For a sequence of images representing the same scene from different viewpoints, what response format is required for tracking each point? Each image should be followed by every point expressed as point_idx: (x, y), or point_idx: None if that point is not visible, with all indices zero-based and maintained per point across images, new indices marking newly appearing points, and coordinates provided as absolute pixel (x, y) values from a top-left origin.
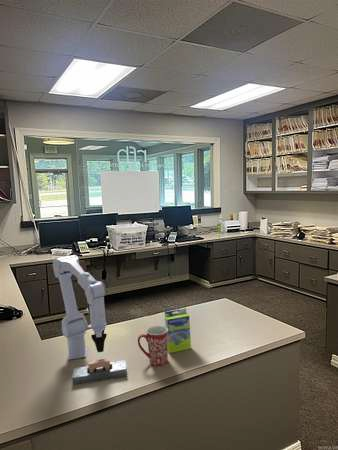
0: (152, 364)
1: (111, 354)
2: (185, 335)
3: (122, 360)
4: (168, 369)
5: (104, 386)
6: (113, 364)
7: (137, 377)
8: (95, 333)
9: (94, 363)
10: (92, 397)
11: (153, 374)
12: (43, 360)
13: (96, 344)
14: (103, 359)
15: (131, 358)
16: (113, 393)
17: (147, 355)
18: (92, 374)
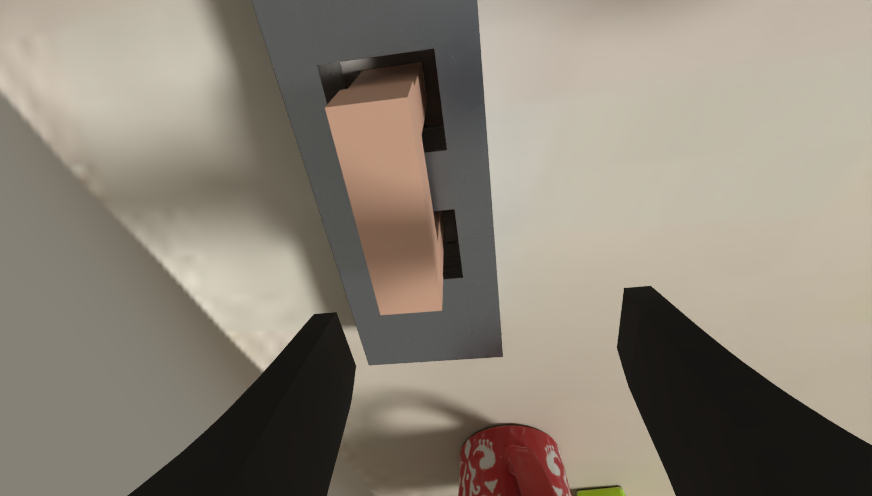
0: (478, 433)
1: (761, 212)
2: None
3: (499, 342)
4: (418, 474)
5: (258, 202)
6: (450, 288)
7: (359, 370)
8: (735, 441)
9: (345, 181)
10: (110, 132)
11: (381, 428)
12: None
13: (224, 436)
14: (423, 262)
15: (607, 344)
16: (185, 262)
17: (510, 463)
18: (296, 129)
